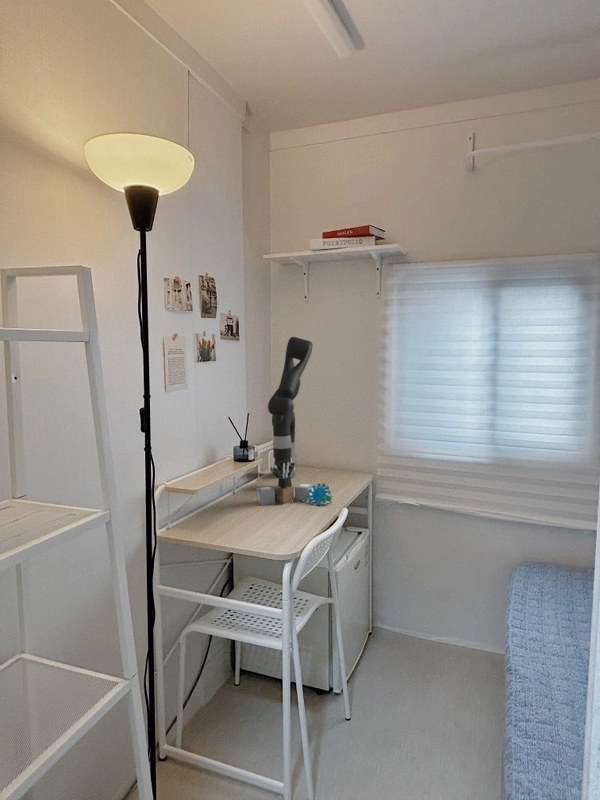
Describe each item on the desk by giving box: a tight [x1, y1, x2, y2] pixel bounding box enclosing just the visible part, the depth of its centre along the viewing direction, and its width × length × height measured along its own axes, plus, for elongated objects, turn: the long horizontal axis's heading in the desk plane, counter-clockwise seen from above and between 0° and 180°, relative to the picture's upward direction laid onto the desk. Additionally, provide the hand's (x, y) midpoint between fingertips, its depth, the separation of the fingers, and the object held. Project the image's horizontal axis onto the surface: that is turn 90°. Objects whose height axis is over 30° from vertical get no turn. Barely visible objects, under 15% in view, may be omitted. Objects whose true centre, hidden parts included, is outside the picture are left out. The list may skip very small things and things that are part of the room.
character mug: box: [277, 459, 296, 487], centre depth 243 cm, size 11×7×13 cm, turn 63°
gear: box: [307, 483, 333, 506], centre depth 220 cm, size 11×6×10 cm
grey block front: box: [256, 486, 276, 506], centre depth 222 cm, size 6×6×6 cm
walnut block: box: [272, 486, 295, 505], centre depth 222 cm, size 6×6×6 cm
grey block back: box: [294, 483, 315, 502], centre depth 225 cm, size 6×6×6 cm
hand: (283, 487), depth 222 cm, fingers closed
